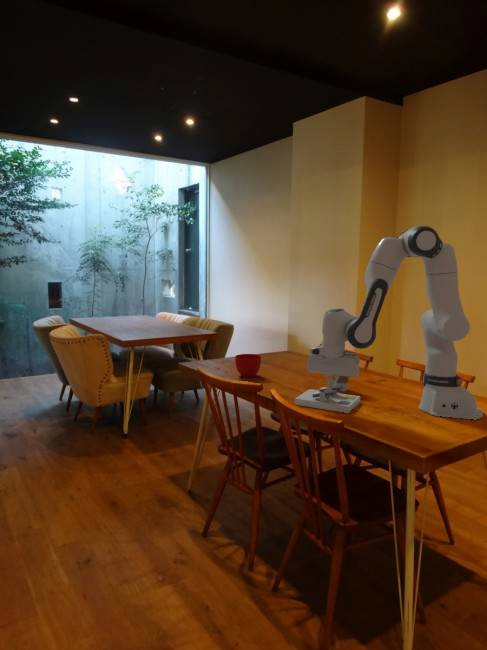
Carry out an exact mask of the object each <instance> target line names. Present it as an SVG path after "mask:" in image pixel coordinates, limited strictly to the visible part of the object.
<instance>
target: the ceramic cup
mask: <svg viewBox="0 0 487 650" xmlns="http://www.w3.org/2000/svg"><path fill="white" fill-rule="evenodd" d="M234 357H235V359H234V360H235V367H236V370H237V372H238V374H240V376H241V377H242V378H254V377H255V376H256V375H257V374H258V372H259V371H260V368H261V363H262V355H259V354H255V353H242V354H237V355H235V356H234Z"/></svg>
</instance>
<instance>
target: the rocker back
mask: <svg viewBox="0 0 487 650" xmlns="http://www.w3.org/2000/svg"><path fill="white" fill-rule="evenodd" d="M326 389H332V390H337V392H342V391H341V390H342V389H343V386H334V387H331V386H324V387H320V388H319V389H318V390H319V391H320V392H324V390H326Z"/></svg>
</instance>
